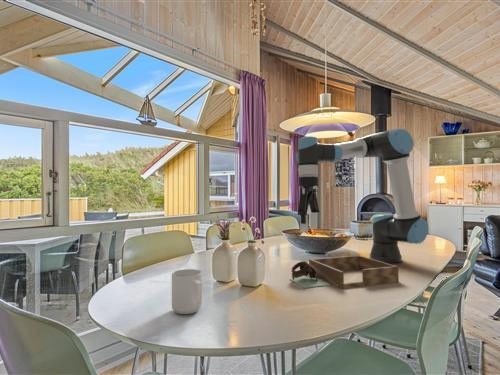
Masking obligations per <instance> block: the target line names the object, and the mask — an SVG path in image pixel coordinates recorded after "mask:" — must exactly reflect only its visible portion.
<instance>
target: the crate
mask: <svg viewBox="0 0 500 375" xmlns="http://www.w3.org/2000/svg"><path fill="white" fill-rule="evenodd" d="M308 264H310V265H311V266H313V267H314V269H315V271H316V274H317V278H319V279H321V280H323V281H325V282H327V283H329V284H330V285H333V286H335V287H337V288H339V289H340V290H341V289H349V288H358V287H366V286H367V287H368V286H375V285H383V284H384V285H385V284H392V283H399V282H400V281H399V278H400V277H399V265H398V266H397V265H394V264H392V263H391V264H390V263H388V262H381V261H377V260H374V259H370V257H366V256H362V255H347V256H346V255H344V256H334V257H333V256H332V257H323V258H322V257H320V258H319V257H318V258H310V259H309V258H308ZM348 270H361V271H362V280H361V281H353V282H345V278H344V276H345V274H344V273H345V272H344V271H348Z"/></svg>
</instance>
